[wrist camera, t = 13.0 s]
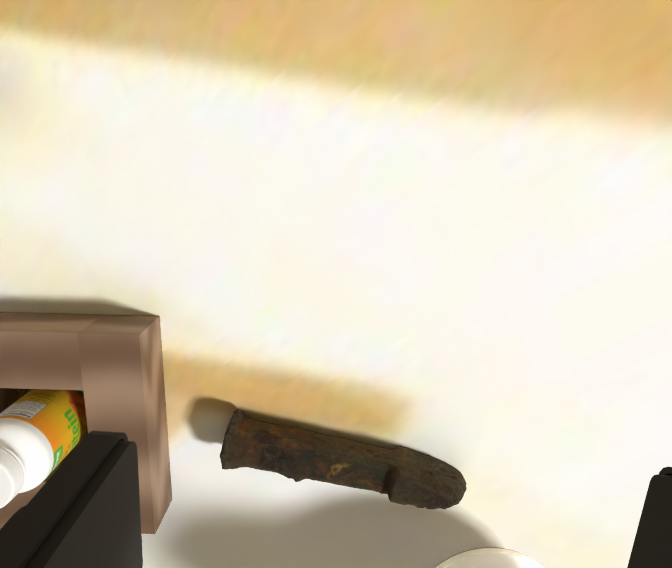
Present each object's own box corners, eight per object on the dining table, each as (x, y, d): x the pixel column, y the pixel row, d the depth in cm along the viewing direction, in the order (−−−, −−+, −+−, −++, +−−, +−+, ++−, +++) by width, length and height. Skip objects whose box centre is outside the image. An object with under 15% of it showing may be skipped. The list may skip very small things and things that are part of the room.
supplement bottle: (101, 438, 42) (30, 523, 33) (34, 437, 42) (-55, 520, 33) (94, 377, 41) (18, 447, 31) (25, 375, 41) (-71, 444, 32)
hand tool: (225, 445, 42) (210, 481, 38) (235, 401, 41) (221, 433, 37) (449, 497, 43) (461, 538, 39) (464, 456, 42) (478, 493, 38)
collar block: (-51, 310, 40) (-94, 328, 36) (159, 316, 39) (139, 334, 36) (-19, 493, 44) (-55, 526, 40) (172, 499, 44) (155, 533, 40)
